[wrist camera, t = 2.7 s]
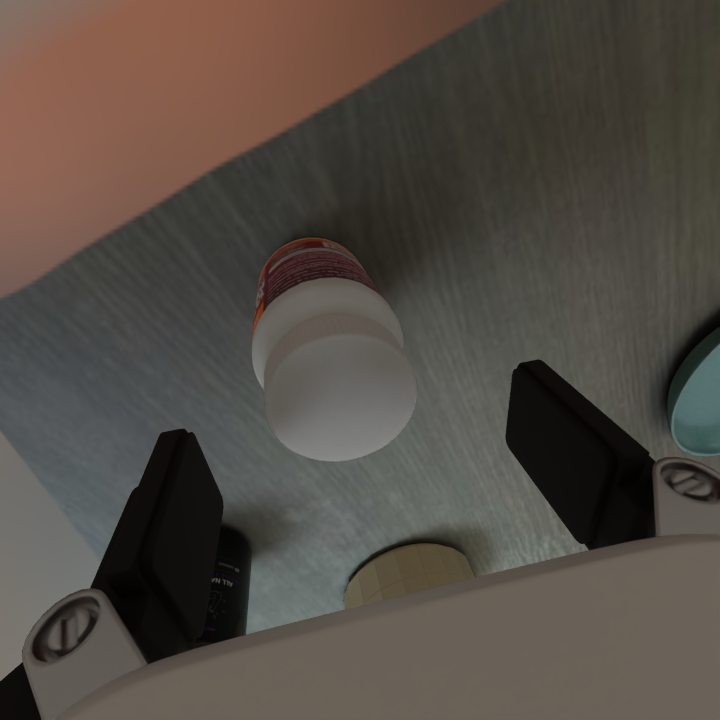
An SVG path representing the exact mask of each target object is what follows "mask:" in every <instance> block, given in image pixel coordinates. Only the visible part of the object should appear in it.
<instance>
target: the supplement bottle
mask: <svg viewBox="0 0 720 720" xmlns="http://www.w3.org/2000/svg"><path fill="white" fill-rule="evenodd" d="M251 558H252V557H251V548H250V545H249V544H248V542H247V541H246V539H245V538H244V537H243V536H241V535H240V534H239V533H237V532H235V531H233V530H230V529H227V528H223V527H220V534H219V540H218V546H217V552H216V558H215V565H214V571H213V577H212V583H211V590H210V596H209V602H208V608H207V614H206V621H205V627H204V632H203V634H202V636H201V637H198V638H196V642H195V647H194V649H196V648H199V647H203V646H207V645H211V644H214V643H218V642H222V641H225V640H229V639H233V638H236V637H240V636H244V635H246V627H247V613H248V600H249V587H250V574H251Z"/></svg>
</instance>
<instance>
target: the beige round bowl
mask: <svg viewBox="0 0 720 720" xmlns="http://www.w3.org/2000/svg"><path fill="white" fill-rule="evenodd" d="M472 578H476V577H475V575H474V572H473V570H472V568H471V566H470V564H469V562H468V560H467V558H466V556H465V555H464V554H462V553H460V552H459V551H457V550H456V549H454V548H451V547H446V546H443V545H439V544H432V543H419V544H411V545H406V546H402V547H399V548H395V549H393V550H390V551H388V552H386V553H383V554H381V555H379V556H378V557H376V558H374V559H373V560H371V561H370V562H368V563H367V564H366V565H365V566H364V567H362V569H361V570H360V571H359V572H358V573H357V574H356V575H355V576H354V578H353V579H352V580H351V581H350V583H349V584H348V585H347V589H346V592H345V595H344V604H345V610H346V609H350V608H354V607H358V606H362V605H366V604H370V603H374V602H378V601H382V600H386V599H390V598H394V597H398V596H402V595H406V594H410V593H414V592H418V591H423V590H427V589H431V588H435V587H439V586H443V585H447V584H451V583H455V582H459V581H463V580H467V579H472Z"/></svg>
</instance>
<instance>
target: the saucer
mask: <svg viewBox="0 0 720 720" xmlns="http://www.w3.org/2000/svg"><path fill="white" fill-rule="evenodd" d="M667 417H668V424H669V428H670V432H671V435H672V437H673V440H674V442H675V443H676V445H677V446H678V447H679V448H680V449H682V450H683V451H685V452H687V453H689V454H692V455H697V456H714V455H720V327H718V328H717V329H715V330H714V331H713V332H711V333H710V334H709V335H708V336H706V337H705V338H704V339H703V340H702V341H701V342H700V343H699V344H698V345H697V346H696V347H695V348H694V349H693V350H692V351H691V352H690V353H689V354H688V356H687V357H686V358H685V360H684V361H683V362H682V364H681V365H680V367H679V368H678V370H677V372H676V374H675V376H674V378H673V380H672V383H671V386H670V389H669V394H668V403H667Z"/></svg>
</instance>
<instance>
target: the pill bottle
mask: <svg viewBox="0 0 720 720" xmlns="http://www.w3.org/2000/svg"><path fill="white" fill-rule="evenodd" d="M252 362H253V367H254V371H255V374H256V377H257V379H258V381H259V383H260V385H261V387H262V388H263V390H264V406H265V414H266V417H267V421H268V424H269V426H270V428H271V429H272V431H273V433H274V434H275V436H276V437H277V438H278V440H279V441H280V442H282V443H283V444H284V445H285V446H286V447H288V448H289V449H290V450H292V451H294V452H295V453H298V454H300V455H302V456H304V457H308V458H311V459H316V460H321V461H345V460H351V459H356V458H359V457H363V456H366V455H368V454H370V453H373V452H375V451H377V450H379V449H381V448H382V447H384V446H385V445H387V444H388V443H389V442H391V441H392V440H393V439H394V438H395V437H396V436H397V435H398V434H399V433H400V432H401V431H402V430H403V429H404V427H405V426H406V424H407V423H408V421H409V419H410V418H411V416H412V414H413V411H414V408H415V405H416V401H417V381H416V377H415V373H414V370H413V368H412V366H411V364H410V362H409V360H408V359H407V357H406V355H405V353H404V341H403V334H402V330H401V327H400V324H399V322H398V319H397V317H396V316H395V314H394V312H393V310H392V308H391V307H390V306H389V304H388V303H387V302H386V300H385V299H384V298H383V297H382V295H381V294H380V292H379V291H378V289H377V288H376V287H375V285H374V284H373V282H372V281H371V279H370V278H369V276H368V275H367V273H366V272H365V270H364V268H363V267H362V266H361V264H360V263H359V262H358V260H357V259H356V258H355V256H354V255H353V254H352V253H351V252H349V251H348V250H347V249H346V248H344V247H343V246H341V245H340V244H338V243H335V242H333V241H330V240H327V239H322V238H303V239H298V240H295V241H292V242H290V243H288V244H285V245H284V246H282V247H281V248H279V249H278V250H277V251H276V252H275V253H273V255H272V256H271V257H270V258H269V259H268V261H267V262H266V264H265V266H264V268H263V270H262V272H261V275H260V278H259V283H258V290H257V297H256V306H255V315H254V325H253V337H252Z"/></svg>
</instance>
